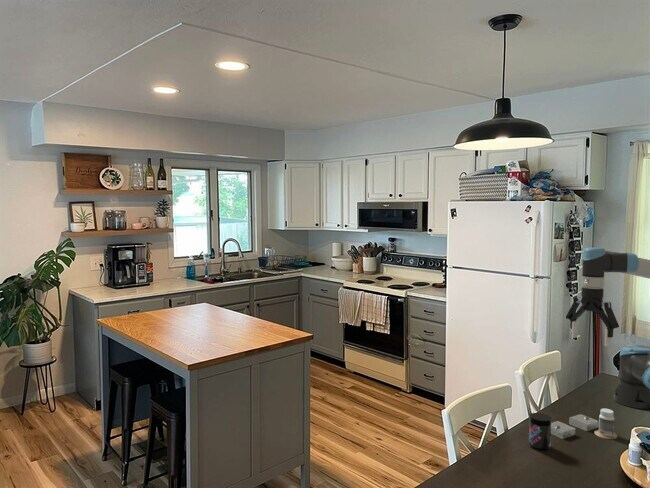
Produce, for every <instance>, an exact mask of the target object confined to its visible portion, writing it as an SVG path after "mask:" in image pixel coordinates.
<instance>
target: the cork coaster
mask: <svg viewBox="0 0 650 488" xmlns="http://www.w3.org/2000/svg"><path fill="white" fill-rule="evenodd" d="M594 435H596V436H597V437H599V438H600V439H601V438H602V439H604V440H616V439H617V438H618V435H617V434H616V433H615V432H614V435H613V436H605V435H602V434H600V433H599V429H596V430H594Z"/></svg>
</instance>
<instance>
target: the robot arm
mask: <svg viewBox="0 0 650 488" xmlns="http://www.w3.org/2000/svg"><path fill="white" fill-rule="evenodd" d="M582 251H583V252H582V257H581V260H582V266H581V267H582V273H581V275H582V276H581V286H582V287H581V290H580V291H581V294H580V295H581V297H580V296H577V297H573V302H572V304H571V306H570V308H569V309H568V312H567V313H566V316H565V318H566V319H567V320H569V322H570V324H569V326H570V329H571V339H575V338H578V334H579V332H578V331H579V320H578V319H579V318H580V317H581V316H582V315H583V314H584V313H585V312H592V313H596V314H597V315H598V316H599V318H600V319H601V321H602V323H603V324H604V325H605V326H606V328H604V344H603V345H604V346H605V347H609V346H611V345H612V343H611V342H612V338H613V337H614V329H619V327H620V325H619V322H618V320H617V317H616V316H615V314H614V311H613V309H612V303H611V302H610V301H606V302H605V301H604V300H603V299H604V286H605V285H604V284H605V273H622V274H626V275H630V276H637V277H640V278H646V279H649V280H650V259H647V258H644V257H643V258H642V257H638V255H637V254H635V253H631V252H630V253H629V252H616V251H611V250H609V251H608V250H606V249H605V248H603V247H591V246H590V247H585V248H583V250H582ZM580 304H581V306H580ZM578 308H579V309H578ZM618 375H619V376H618V377H619V378H618V383H617V386H616V387H615V390H614V393H613V401H615V402H616V403H618V404H620V405H622V406H626V407H628V408H629V407H630V408H634V409H640V410H642V409H643V410H650V348H647V347H641V346H624V347H622V348H620V352H619V373H618Z"/></svg>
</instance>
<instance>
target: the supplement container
mask: <svg viewBox="0 0 650 488" xmlns="http://www.w3.org/2000/svg"><path fill="white" fill-rule="evenodd" d="M551 423H552V417H551V415H548V414H545V413H541V412H532V413H530V414H529V425H528V426H529V432H528V444H529V446H530V447H531V449H534V450H537V451H538V452H539V451H541V452H546V451H549V450H550V449H551V445H552V444H551V443H552V442H551V439H552V437H551V436H552V434H551Z"/></svg>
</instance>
